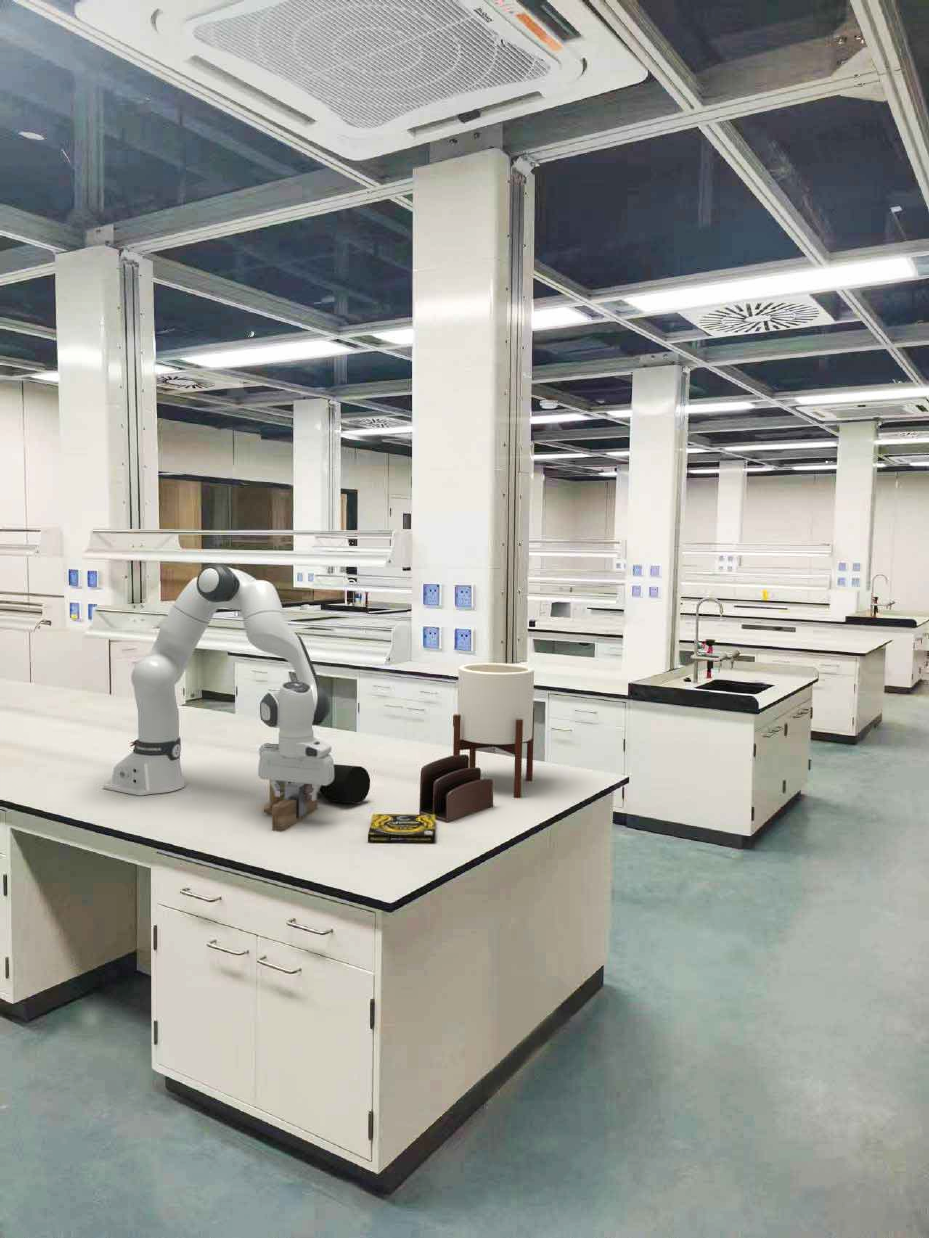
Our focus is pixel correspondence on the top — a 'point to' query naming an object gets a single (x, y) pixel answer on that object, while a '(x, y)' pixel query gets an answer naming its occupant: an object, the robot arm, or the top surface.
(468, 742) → the plant pot with stand
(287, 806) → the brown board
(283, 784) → the bobbin
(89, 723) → the top surface
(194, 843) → the top surface
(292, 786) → the block
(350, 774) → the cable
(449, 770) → the letter holder
